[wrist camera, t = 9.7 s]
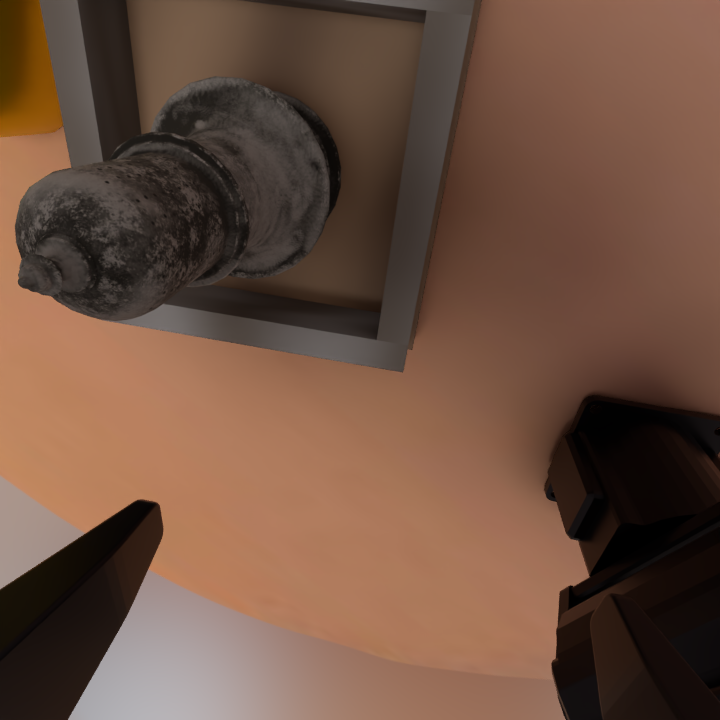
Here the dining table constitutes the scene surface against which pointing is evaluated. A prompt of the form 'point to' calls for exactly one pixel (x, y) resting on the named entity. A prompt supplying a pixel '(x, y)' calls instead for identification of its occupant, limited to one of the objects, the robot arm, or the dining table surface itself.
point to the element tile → (26, 72)
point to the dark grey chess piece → (183, 203)
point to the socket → (338, 112)
